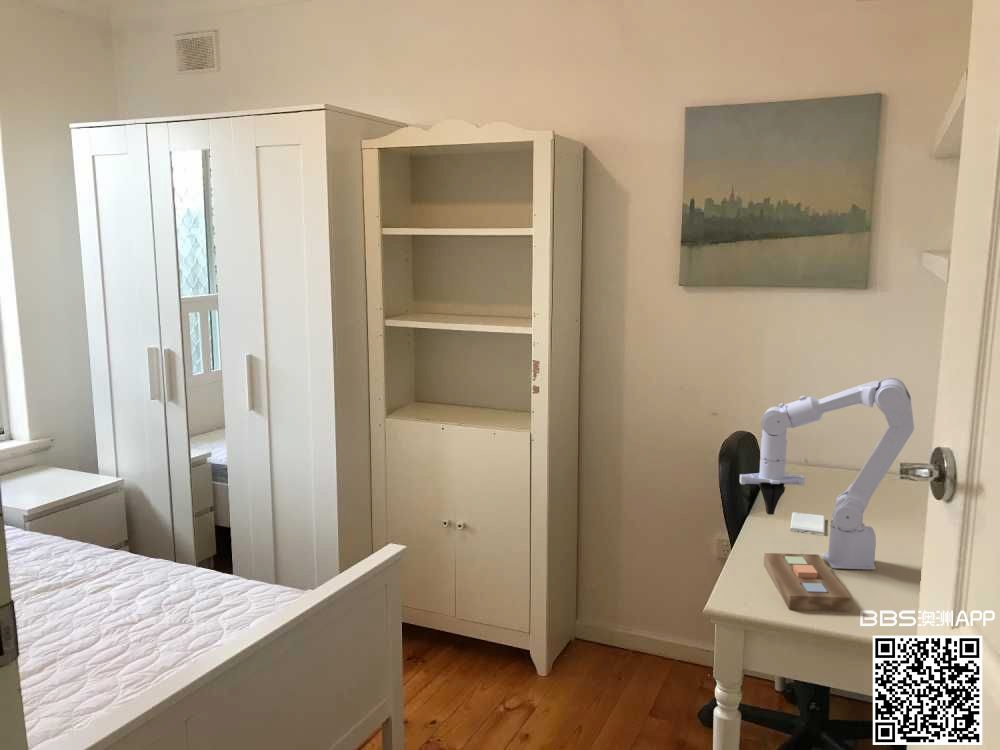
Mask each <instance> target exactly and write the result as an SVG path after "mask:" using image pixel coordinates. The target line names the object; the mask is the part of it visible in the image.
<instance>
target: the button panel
mask: <svg viewBox="0 0 1000 750" xmlns="http://www.w3.org/2000/svg"><path fill="white" fill-rule="evenodd" d="M785 556H792V557H803V558H804V559H805V561H806V562H807V564H808V565H812V566H813V567H814V568H815V570H816V571H817V573H818V575H817V579H810V578H797V577H796V576H795V574H794V573H793V565H788V564H787V562H786V561H785V559H784V558H785ZM764 566H765V567H764ZM763 567H764V568H766V569H765V570H766V572H767V574H768V576H769V577H770V578H771V581H772V582H773V585H774V586H775V588H776V590H777V591H778V593H779V595H780V597H781V598H782V600H783V601H784V603H785V605H786V606H787V609H788V610H793V611H794V610H795V611H797V610H799V611H818V612H819V611H821V612H822V611H825V612H846V613H847V612H851V603H852V596H850V594H849V593H848V592H847V590H846V589H845V588H844V587H843V585H842V584H841V582H840V581H839V580H838V579H837V577H836V576H835V575H834V573H833V572H832V571H831V570H830V568H829V566H827V564H826V562H825V561H824V560H823V559H822V558H821V556H820V555H819V554H810V553H809V554H807V553H781V552H779V553H777V552H776V553H773V552H764V555H763ZM802 583H822V585H823V586H824V587H825V589H826V590H827V592H828V593H806V591H805V590H804V588H803V587H802Z"/></svg>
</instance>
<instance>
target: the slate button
mask: <svg viewBox="0 0 1000 750" xmlns="http://www.w3.org/2000/svg"><path fill="white" fill-rule="evenodd" d="M802 587H803V588H804V590H805V591H806V593H828V592H827V590H826V589H825V587H824V586H823V585H822V583H802Z"/></svg>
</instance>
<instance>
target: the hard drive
mask: <svg viewBox="0 0 1000 750" xmlns="http://www.w3.org/2000/svg"><path fill="white" fill-rule="evenodd" d="M825 519H826V517H825V515H822V514H814V513H813V514H811V513H805V512H804V513H803V512H795V511H793V512H791V518H790V520H791V521H790V529H789V531H790V532H791V531H799V532H810V533H815V534H824V535H825V534H826V532H825V529H826V525H825V524H826V520H825ZM799 532H798V533H799ZM815 534H814V535H815Z"/></svg>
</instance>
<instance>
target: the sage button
mask: <svg viewBox="0 0 1000 750" xmlns="http://www.w3.org/2000/svg"><path fill="white" fill-rule="evenodd" d="M784 559H785V561H786V562H787V564H788V565H808V564H807V562H806V561H805V559H804V558H803V557H792V556H785V558H784Z"/></svg>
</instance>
